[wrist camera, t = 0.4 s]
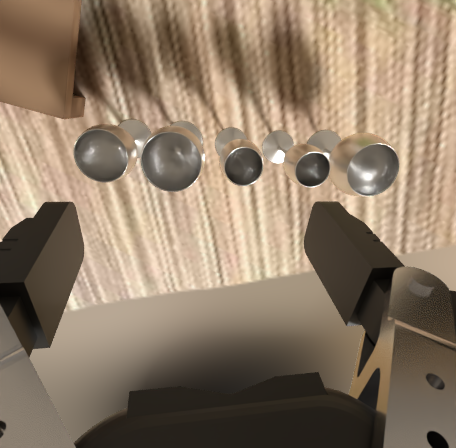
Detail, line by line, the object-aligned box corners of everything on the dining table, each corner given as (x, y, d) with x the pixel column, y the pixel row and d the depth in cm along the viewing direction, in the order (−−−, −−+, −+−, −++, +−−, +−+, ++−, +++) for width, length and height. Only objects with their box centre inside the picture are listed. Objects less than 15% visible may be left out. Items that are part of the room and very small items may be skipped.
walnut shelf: (-39, -82, 27) (-89, -119, 23) (99, -33, 29) (79, -57, 25) (-35, 83, 32) (-75, 80, 27) (83, 116, 34) (64, 119, 29)
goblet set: (115, 162, 36) (68, 194, 24) (111, 111, 34) (57, 117, 22) (341, 173, 39) (404, 208, 26) (351, 126, 36) (424, 140, 24)
